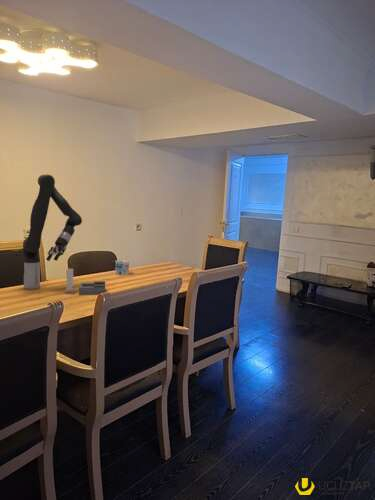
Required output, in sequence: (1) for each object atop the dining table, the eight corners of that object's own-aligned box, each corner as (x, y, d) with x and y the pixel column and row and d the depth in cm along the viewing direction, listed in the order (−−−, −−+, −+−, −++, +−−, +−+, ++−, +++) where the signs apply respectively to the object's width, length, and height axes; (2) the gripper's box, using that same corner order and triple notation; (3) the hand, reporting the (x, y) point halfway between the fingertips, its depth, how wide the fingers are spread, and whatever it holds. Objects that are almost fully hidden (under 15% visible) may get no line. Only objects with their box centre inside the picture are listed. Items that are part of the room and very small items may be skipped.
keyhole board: (78, 294, 216) (78, 286, 216) (80, 289, 228) (80, 281, 227) (105, 294, 220) (105, 285, 219) (105, 289, 232) (105, 281, 231)
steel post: (64, 293, 217) (64, 270, 215) (65, 291, 223) (65, 268, 221) (74, 293, 219) (74, 270, 216) (75, 290, 224) (75, 268, 222)
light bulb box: (115, 274, 275) (115, 261, 274) (115, 273, 282) (115, 260, 280) (129, 274, 278) (129, 261, 276) (128, 272, 284) (128, 260, 283)
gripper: (53, 237, 231) (40, 257, 224) (65, 235, 223) (53, 256, 215) (61, 243, 236) (49, 263, 229) (73, 242, 228) (62, 263, 220)
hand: (51, 260), depth 222 cm, fingers open, 8 cm apart
